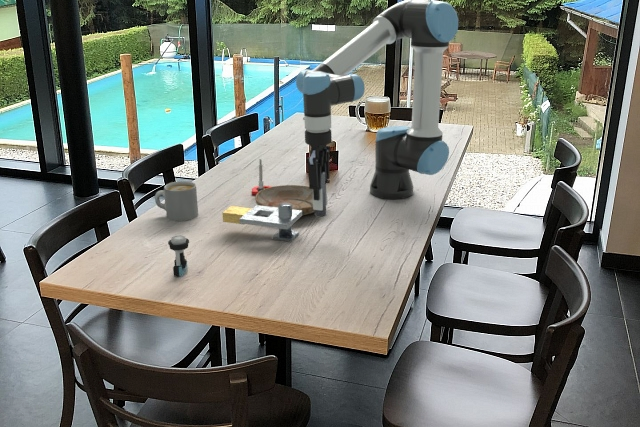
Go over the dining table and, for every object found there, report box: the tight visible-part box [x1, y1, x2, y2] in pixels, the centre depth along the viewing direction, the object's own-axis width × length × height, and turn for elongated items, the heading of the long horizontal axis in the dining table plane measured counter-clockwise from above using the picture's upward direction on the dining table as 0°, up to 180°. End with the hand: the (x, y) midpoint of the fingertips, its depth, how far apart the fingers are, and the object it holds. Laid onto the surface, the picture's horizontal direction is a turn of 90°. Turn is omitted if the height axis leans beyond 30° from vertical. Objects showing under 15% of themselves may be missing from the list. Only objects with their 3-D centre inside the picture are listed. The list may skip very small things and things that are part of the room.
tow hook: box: [251, 158, 273, 196], centre depth 241 cm, size 8×13×9 cm
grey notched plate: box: [222, 203, 303, 243], centre depth 205 cm, size 22×12×10 cm, turn 71°
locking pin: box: [314, 171, 327, 218], centre depth 200 cm, size 3×3×13 cm
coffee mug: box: [154, 180, 199, 222], centre depth 220 cm, size 13×10×10 cm
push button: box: [167, 234, 190, 277], centre depth 180 cm, size 7×5×10 cm
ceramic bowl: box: [254, 184, 315, 216], centre depth 225 cm, size 23×24×5 cm
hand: (320, 206), depth 202 cm, fingers closed on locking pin, 3 cm apart
